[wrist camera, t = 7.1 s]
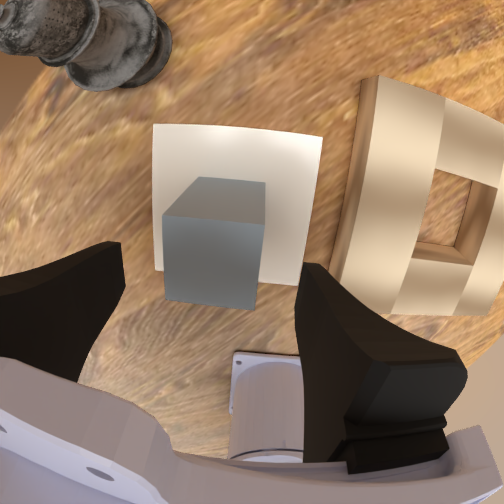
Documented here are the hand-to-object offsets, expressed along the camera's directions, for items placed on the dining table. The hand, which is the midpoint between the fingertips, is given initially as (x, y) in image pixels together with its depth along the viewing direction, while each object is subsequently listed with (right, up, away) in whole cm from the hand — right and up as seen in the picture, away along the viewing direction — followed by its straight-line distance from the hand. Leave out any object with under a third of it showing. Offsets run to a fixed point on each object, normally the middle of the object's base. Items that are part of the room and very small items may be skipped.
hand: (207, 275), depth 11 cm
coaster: (0, +4, +7) cm, 8 cm away
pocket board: (+14, +4, +7) cm, 16 cm away
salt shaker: (-6, +14, +3) cm, 15 cm away
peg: (0, +3, +7) cm, 8 cm away
